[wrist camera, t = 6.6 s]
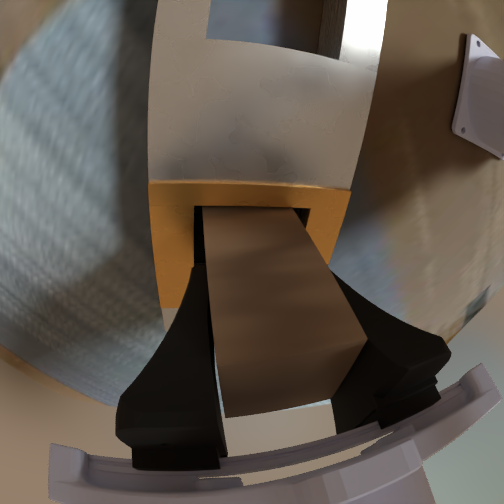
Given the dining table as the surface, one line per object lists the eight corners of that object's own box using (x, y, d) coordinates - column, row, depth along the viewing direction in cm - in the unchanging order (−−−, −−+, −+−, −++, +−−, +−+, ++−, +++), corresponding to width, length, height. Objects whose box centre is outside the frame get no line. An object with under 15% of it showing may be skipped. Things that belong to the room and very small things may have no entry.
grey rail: (364, -55, 6) (392, -67, 4) (294, 297, 20) (305, 326, 18) (189, -89, 4) (189, -114, 2) (166, 302, 18) (165, 334, 16)
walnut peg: (282, 191, 14) (367, 338, 7) (276, 254, 16) (331, 398, 9) (201, 196, 13) (217, 365, 6) (206, 260, 16) (225, 418, 9)
